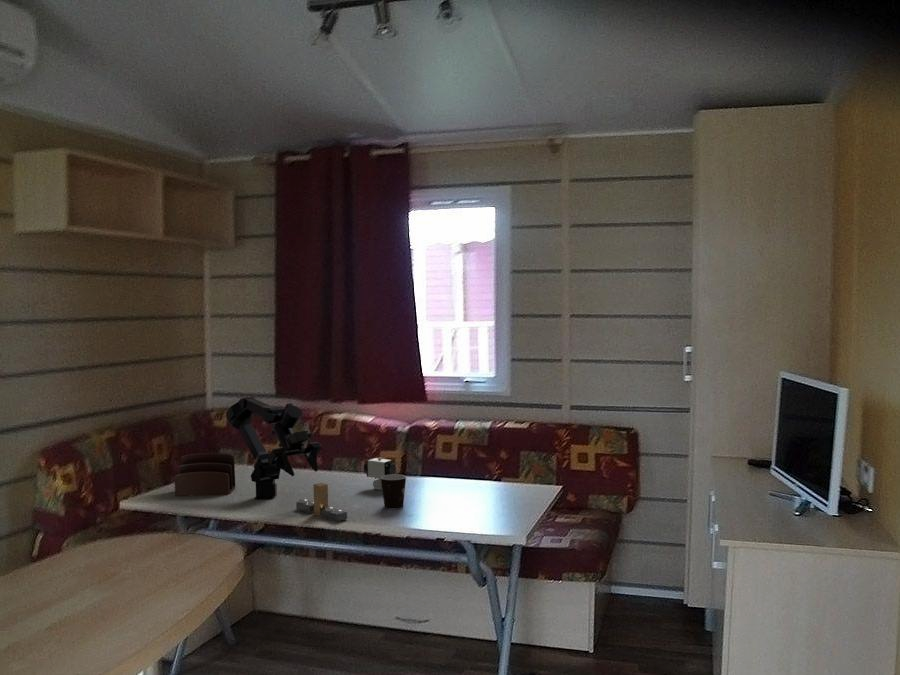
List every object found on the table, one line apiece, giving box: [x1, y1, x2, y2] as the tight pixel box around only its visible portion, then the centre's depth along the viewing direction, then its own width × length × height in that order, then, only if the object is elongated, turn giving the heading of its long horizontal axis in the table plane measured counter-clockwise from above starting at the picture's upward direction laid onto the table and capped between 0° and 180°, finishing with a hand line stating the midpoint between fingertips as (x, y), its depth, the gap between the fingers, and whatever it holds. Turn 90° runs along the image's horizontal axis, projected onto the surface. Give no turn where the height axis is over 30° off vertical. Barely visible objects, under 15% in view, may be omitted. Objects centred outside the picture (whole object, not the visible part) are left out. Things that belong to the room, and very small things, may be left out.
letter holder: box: [174, 452, 236, 497], centre depth 292 cm, size 10×20×14 cm, turn 93°
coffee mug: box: [381, 473, 407, 509], centre depth 266 cm, size 12×9×10 cm
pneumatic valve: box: [363, 456, 397, 491], centre depth 293 cm, size 6×12×12 cm, turn 59°
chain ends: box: [295, 498, 348, 523], centre depth 259 cm, size 23×4×3 cm, turn 44°
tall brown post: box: [312, 482, 329, 517], centre depth 258 cm, size 4×3×10 cm
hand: (305, 473), depth 264 cm, fingers open, 9 cm apart
